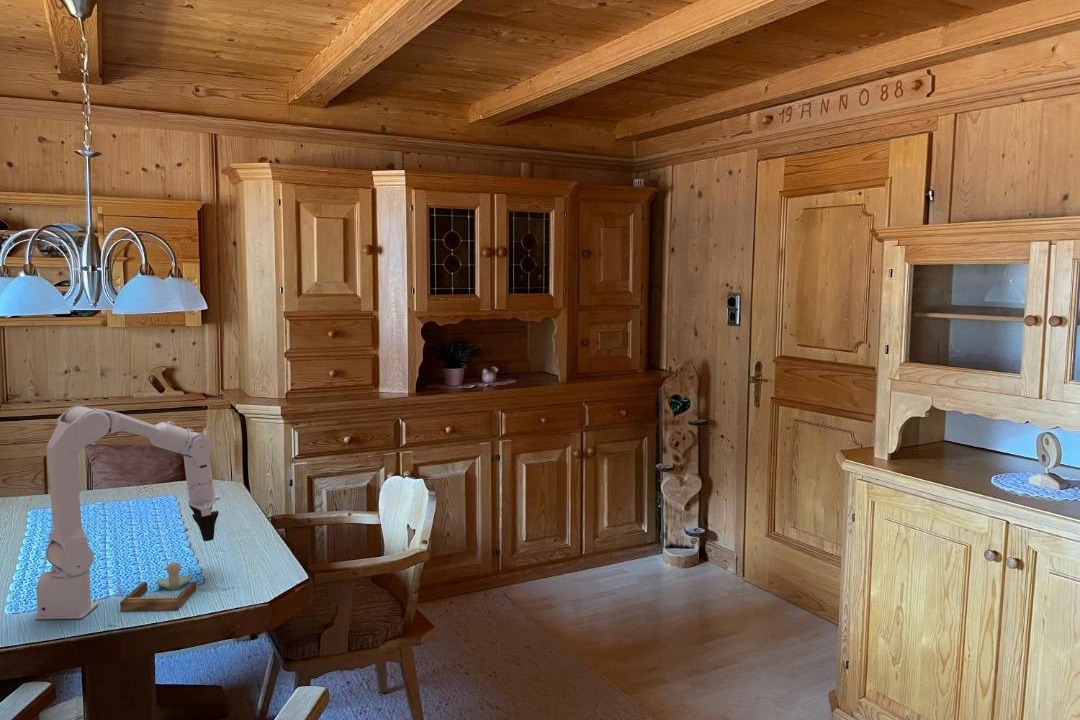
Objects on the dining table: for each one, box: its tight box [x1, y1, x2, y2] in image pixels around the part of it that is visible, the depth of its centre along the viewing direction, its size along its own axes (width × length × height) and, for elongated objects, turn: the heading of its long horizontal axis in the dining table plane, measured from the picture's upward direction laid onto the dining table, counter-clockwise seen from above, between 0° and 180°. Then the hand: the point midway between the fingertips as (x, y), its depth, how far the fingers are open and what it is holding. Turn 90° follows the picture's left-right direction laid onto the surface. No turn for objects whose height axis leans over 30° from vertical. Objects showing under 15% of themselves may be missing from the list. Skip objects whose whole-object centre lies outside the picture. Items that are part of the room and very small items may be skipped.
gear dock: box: [119, 580, 198, 612], centre depth 176 cm, size 12×12×2 cm
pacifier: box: [155, 561, 192, 590], centre depth 184 cm, size 7×6×6 cm
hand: (206, 535), depth 191 cm, fingers open, 7 cm apart
